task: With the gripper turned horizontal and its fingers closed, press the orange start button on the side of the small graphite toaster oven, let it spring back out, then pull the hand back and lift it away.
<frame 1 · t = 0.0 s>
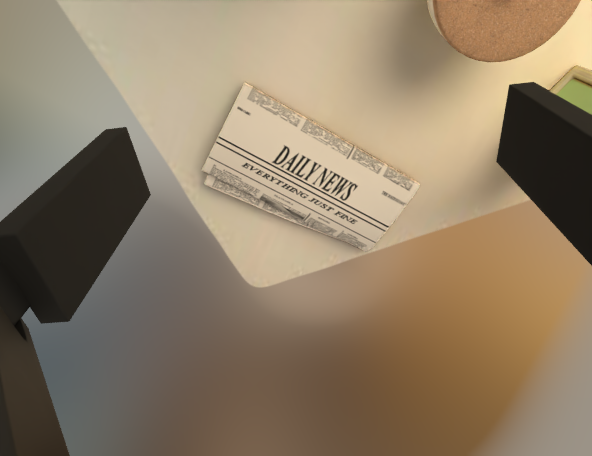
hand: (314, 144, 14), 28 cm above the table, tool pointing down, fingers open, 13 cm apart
newspaper: (311, 179, 47), on the table
toy refrigerator: (559, 111, 42), on the table
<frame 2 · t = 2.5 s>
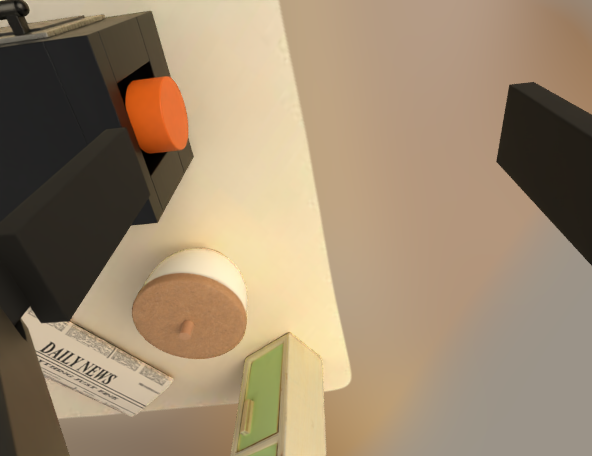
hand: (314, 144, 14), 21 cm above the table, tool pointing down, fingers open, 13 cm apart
newspaper: (83, 358, 54), on the table
toy refrigerator: (282, 354, 53), on the table
trinket box: (206, 269, 45), on the table
toaster oven: (78, 103, 35), on the table
start button: (159, 115, 29), point 7 cm above the table, slide at 0.1 cm
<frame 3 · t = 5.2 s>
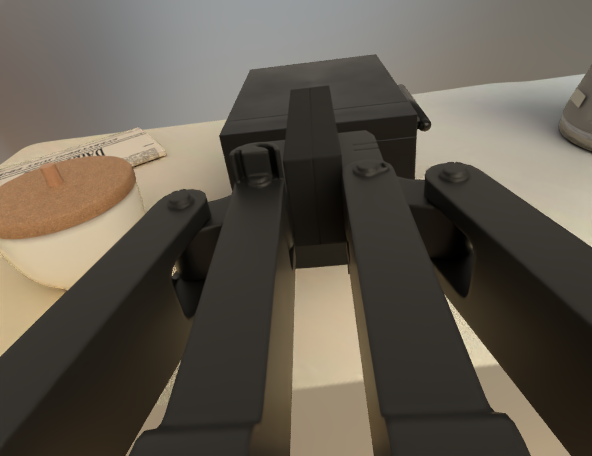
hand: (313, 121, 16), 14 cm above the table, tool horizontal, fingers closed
newspaper: (66, 175, 52), on the table
trinket box: (99, 269, 34), on the table
toaster oven: (325, 207, 38), on the table
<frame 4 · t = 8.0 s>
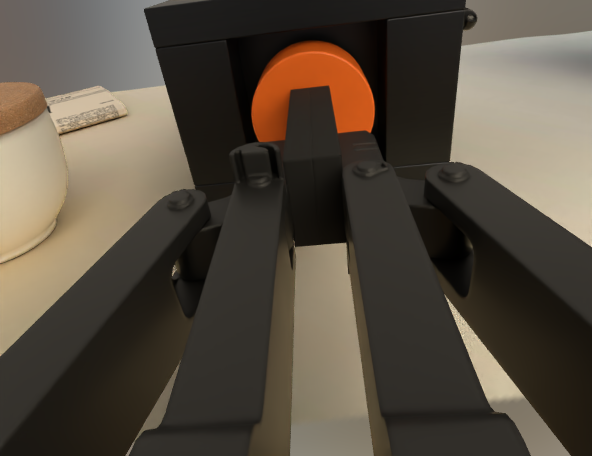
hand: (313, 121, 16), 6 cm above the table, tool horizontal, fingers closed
newspaper: (4, 138, 42), on the table
trinket box: (4, 241, 25), on the table
toaster oven: (320, 163, 28), on the table
start button: (312, 108, 17), point 6 cm above the table, slide at -0.7 cm, touching gripper
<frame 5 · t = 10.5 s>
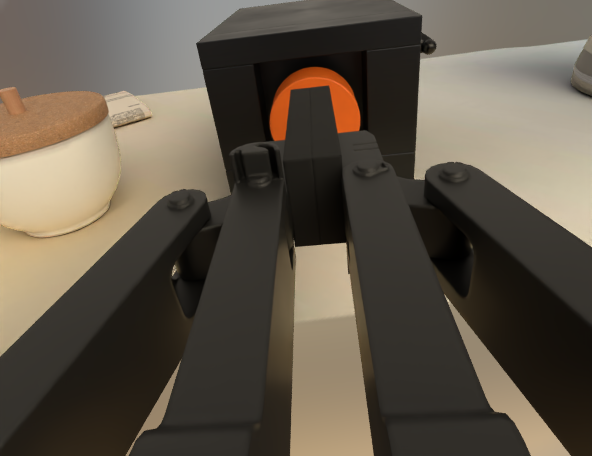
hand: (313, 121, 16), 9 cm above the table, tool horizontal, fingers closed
newspaper: (45, 136, 49), on the table
trinket box: (69, 216, 31), on the table
toaster oven: (319, 156, 35), on the table
start button: (314, 116, 23), point 7 cm above the table, slide at 0.1 cm
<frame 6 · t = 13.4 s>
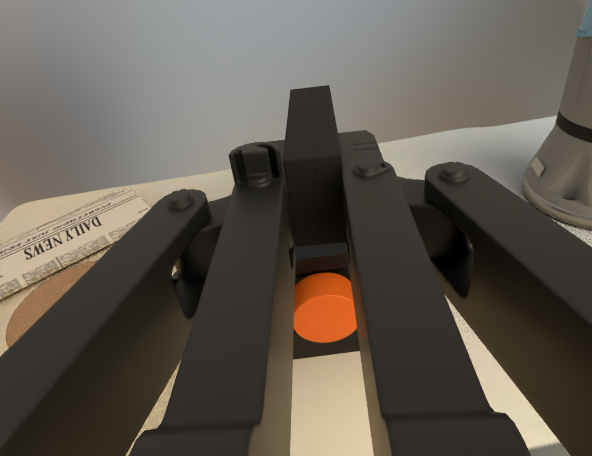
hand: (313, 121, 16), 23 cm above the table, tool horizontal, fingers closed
newspaper: (64, 245, 54), on the table
trinket box: (117, 362, 37), on the table
toaster oven: (319, 285, 41), on the table
start button: (324, 308, 30), point 6 cm above the table, slide at 0.1 cm
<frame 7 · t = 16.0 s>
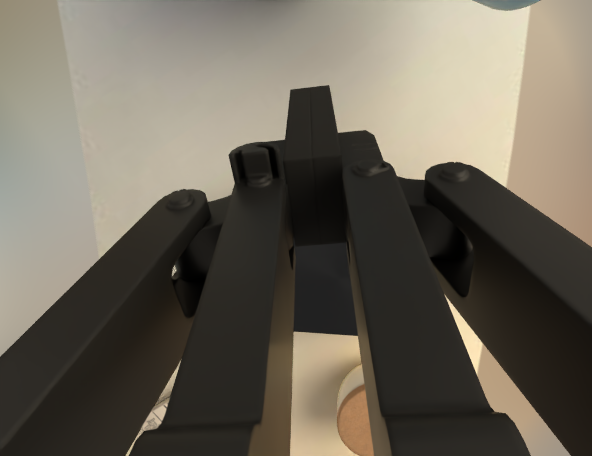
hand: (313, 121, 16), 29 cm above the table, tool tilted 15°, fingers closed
newspaper: (221, 448, 58), on the table
trinket box: (373, 379, 54), on the table
toaster oven: (341, 240, 48), on the table
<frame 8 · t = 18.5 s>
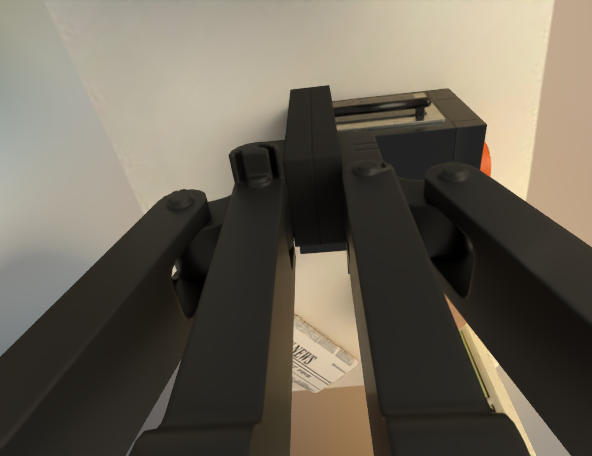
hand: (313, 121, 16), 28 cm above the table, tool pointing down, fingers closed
newspaper: (286, 343, 66), on the table
toy refrigerator: (451, 340, 65), on the table
toaster oven: (368, 149, 47), on the table
start button: (468, 165, 41), point 7 cm above the table, slide at 0.1 cm
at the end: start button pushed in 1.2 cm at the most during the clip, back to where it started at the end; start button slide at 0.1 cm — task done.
